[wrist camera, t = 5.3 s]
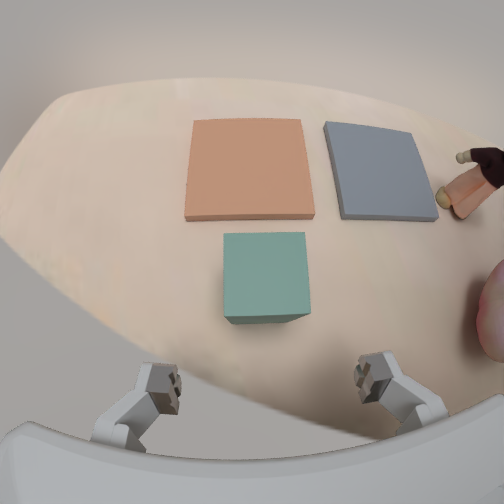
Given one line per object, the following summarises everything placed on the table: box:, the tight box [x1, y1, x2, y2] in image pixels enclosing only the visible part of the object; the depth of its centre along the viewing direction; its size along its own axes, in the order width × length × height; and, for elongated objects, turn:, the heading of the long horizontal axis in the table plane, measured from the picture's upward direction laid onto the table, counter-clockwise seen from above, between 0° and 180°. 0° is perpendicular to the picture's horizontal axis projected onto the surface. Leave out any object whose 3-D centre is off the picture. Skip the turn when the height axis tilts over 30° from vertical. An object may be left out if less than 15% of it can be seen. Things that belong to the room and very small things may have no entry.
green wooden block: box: [224, 232, 311, 324], centre depth 17 cm, size 4×4×8 cm
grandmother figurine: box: [436, 147, 504, 219], centre depth 17 cm, size 8×4×13 cm, turn 76°
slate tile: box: [324, 121, 439, 222], centre depth 24 cm, size 10×10×1 cm
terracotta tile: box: [184, 118, 315, 221], centre depth 23 cm, size 10×10×1 cm
